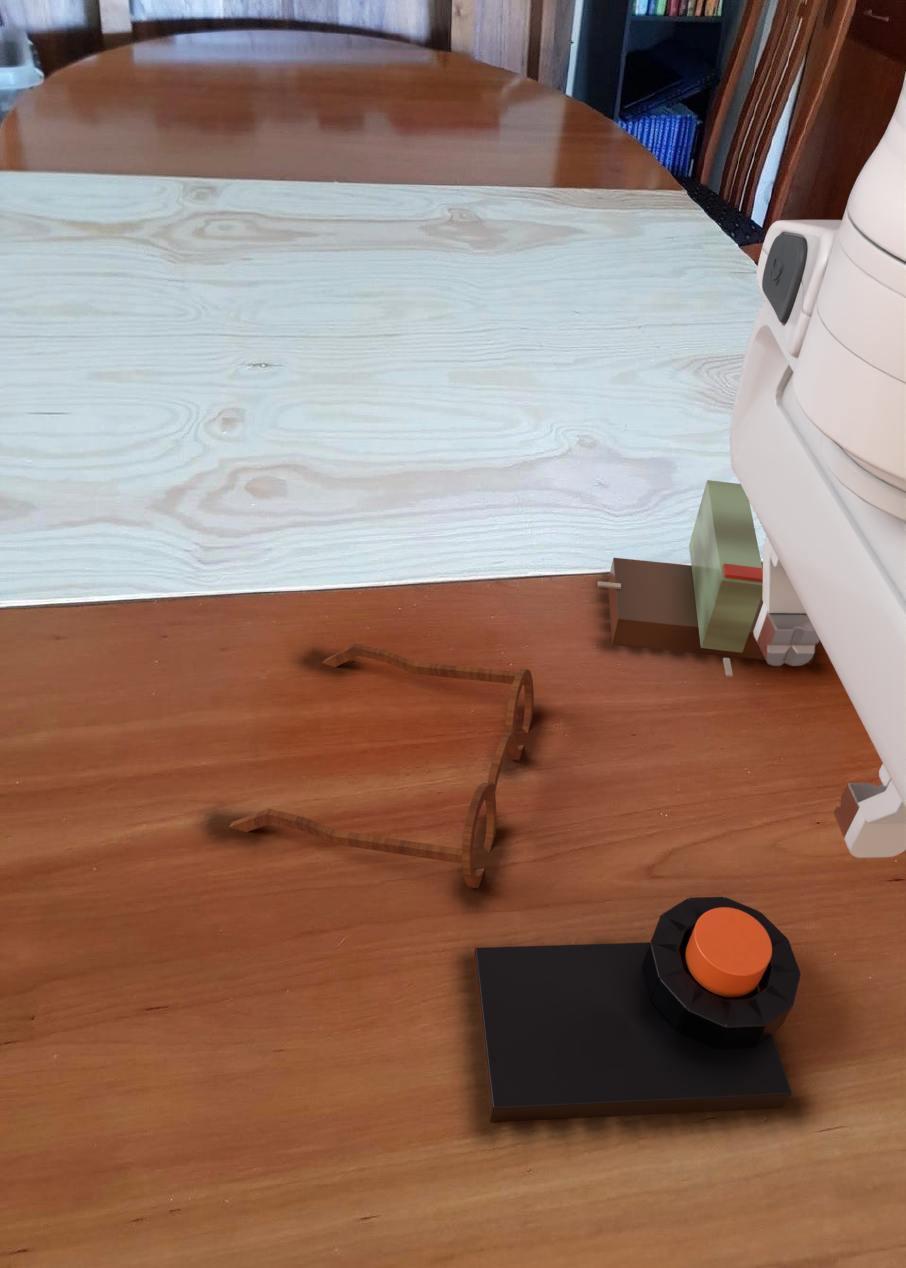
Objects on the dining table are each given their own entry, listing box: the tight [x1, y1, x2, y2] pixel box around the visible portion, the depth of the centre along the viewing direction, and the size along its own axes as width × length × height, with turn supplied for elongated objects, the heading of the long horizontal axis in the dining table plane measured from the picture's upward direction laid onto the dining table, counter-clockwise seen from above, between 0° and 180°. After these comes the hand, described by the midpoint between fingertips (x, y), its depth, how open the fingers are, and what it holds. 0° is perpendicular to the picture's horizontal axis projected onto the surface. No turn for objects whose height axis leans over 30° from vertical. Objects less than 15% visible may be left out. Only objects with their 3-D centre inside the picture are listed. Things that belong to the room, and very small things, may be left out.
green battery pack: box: [688, 479, 763, 653], centre depth 63 cm, size 10×2×5 cm, turn 174°
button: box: [685, 907, 772, 997], centre depth 44 cm, size 3×3×2 cm
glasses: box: [228, 643, 535, 889], centre depth 54 cm, size 13×13×5 cm
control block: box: [472, 896, 802, 1123], centre depth 45 cm, size 13×8×4 cm, turn 95°
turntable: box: [597, 557, 821, 678], centre depth 65 cm, size 14×14×3 cm
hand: (818, 737), depth 36 cm, fingers open, 7 cm apart
